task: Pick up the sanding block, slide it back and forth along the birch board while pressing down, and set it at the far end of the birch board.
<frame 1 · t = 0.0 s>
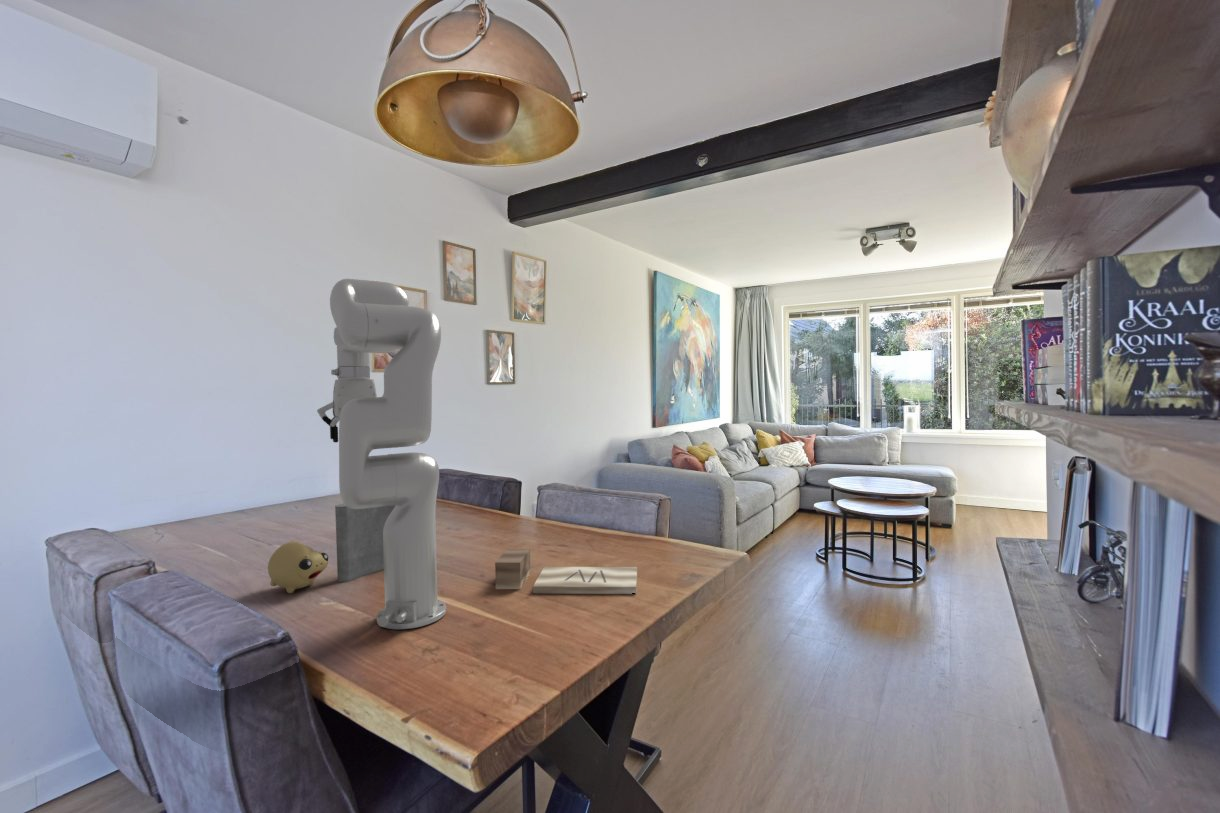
hand: (356, 440, 141), 31 cm above the table, tool pointing down, fingers open, 9 cm apart
sanding block: (513, 581, 125), on the table
yellow round soft figure: (299, 590, 122), on the table
hip flask: (369, 572, 133), on the table
birch board: (587, 582, 123), on the table
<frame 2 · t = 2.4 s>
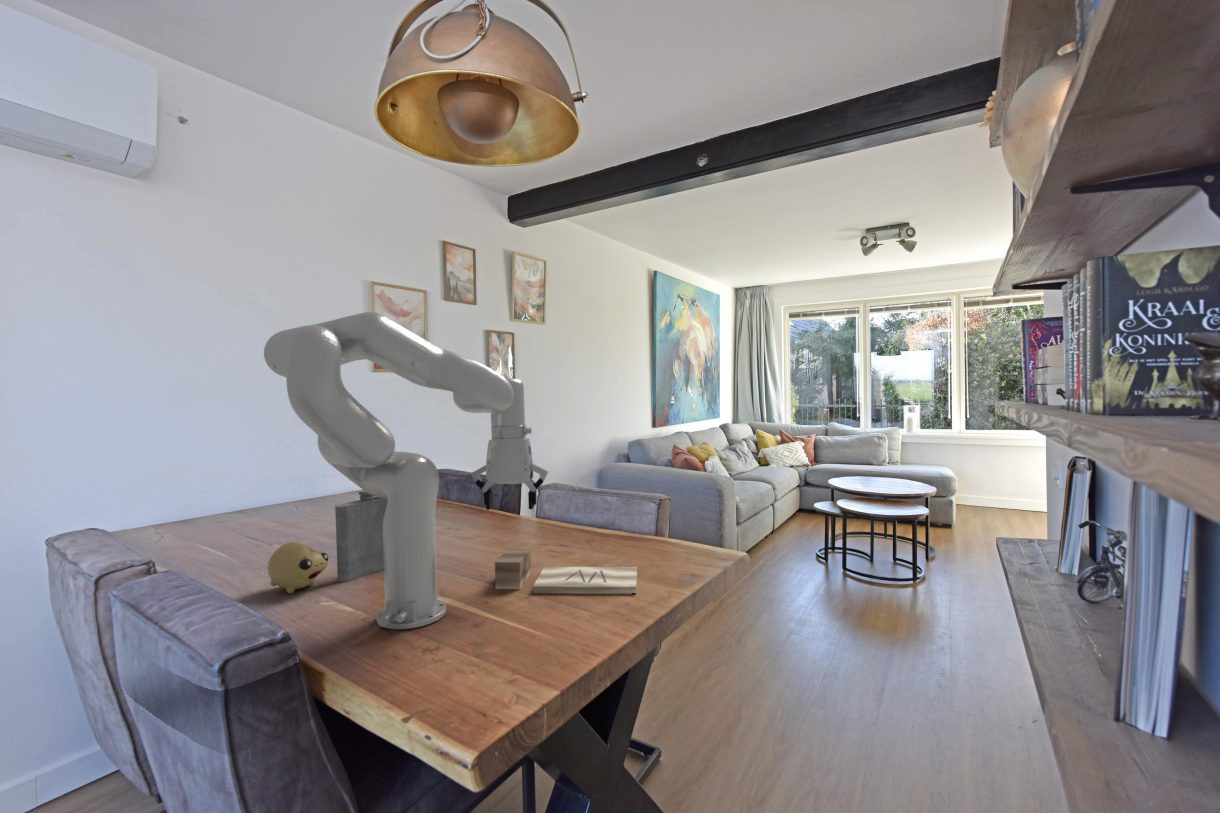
hand: (510, 508, 125), 17 cm above the table, tool pointing down, fingers open, 9 cm apart
nothing on the table moved.
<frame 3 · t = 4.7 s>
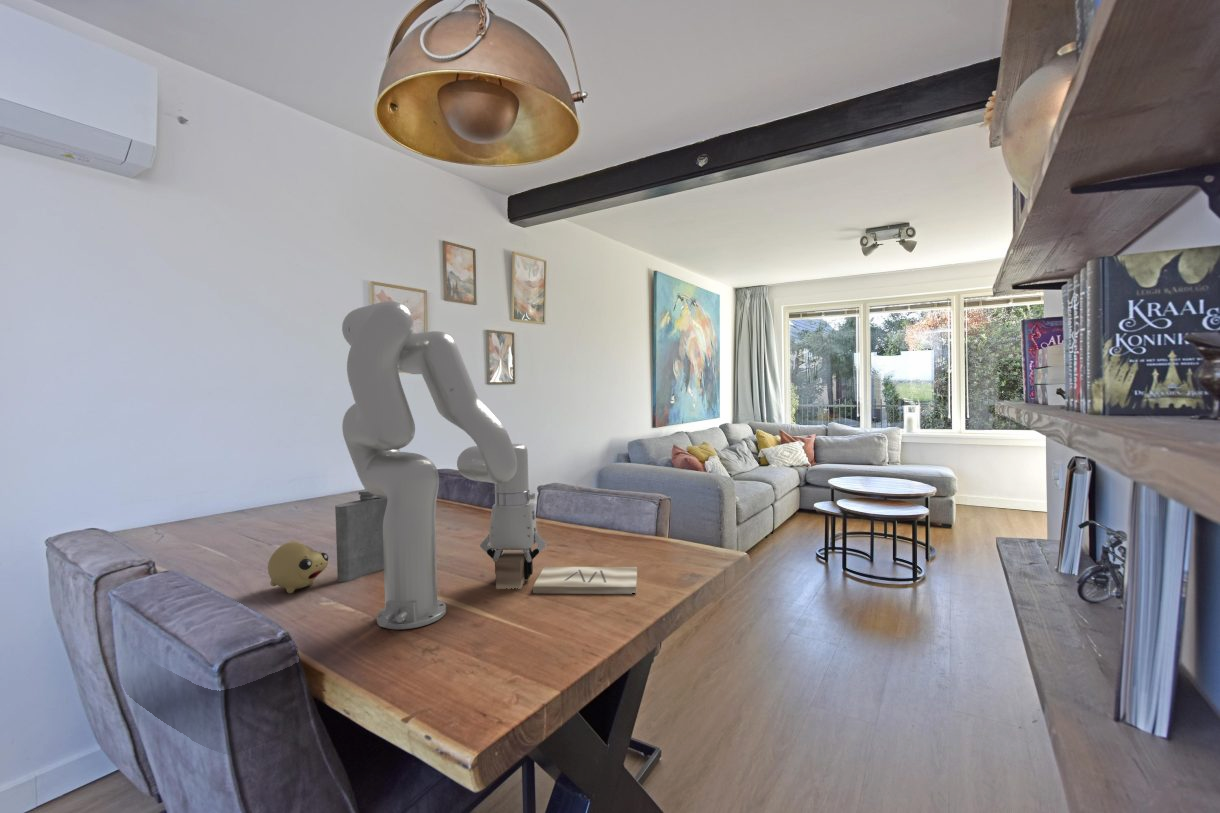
hand: (514, 576, 125), 1 cm above the table, tool pointing down, fingers closed on sanding block, 5 cm apart
sanding block: (514, 580, 125), on the table, touching gripper
everything else where it was.
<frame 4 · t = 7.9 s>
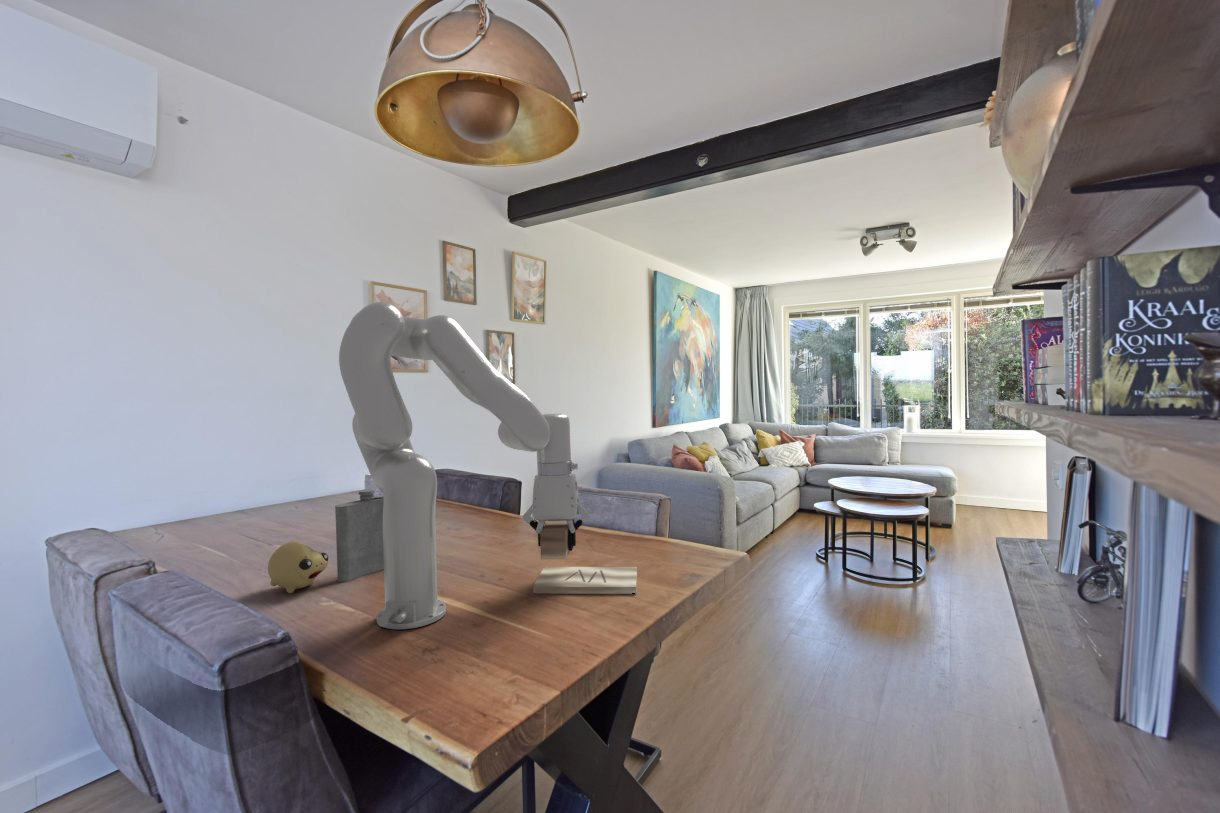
hand: (557, 548, 123), 8 cm above the table, tool pointing down, fingers closed on sanding block, 5 cm apart
sanding block: (557, 552, 123), point 7 cm above the table, touching gripper
everything else where it was.
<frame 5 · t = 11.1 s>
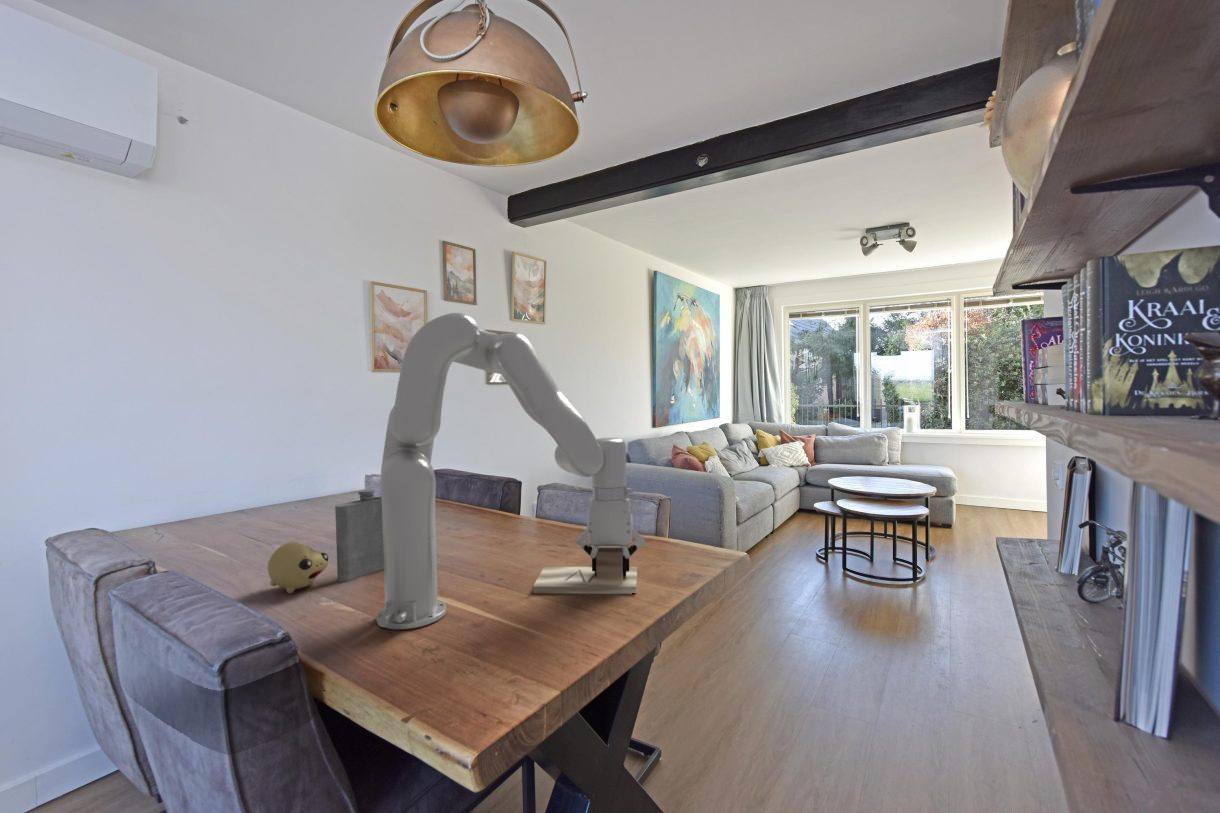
hand: (610, 573, 122), 2 cm above the table, tool pointing down, fingers closed on sanding block, 5 cm apart
sanding block: (610, 576, 122), point 2 cm above the table, touching gripper
everything else where it was.
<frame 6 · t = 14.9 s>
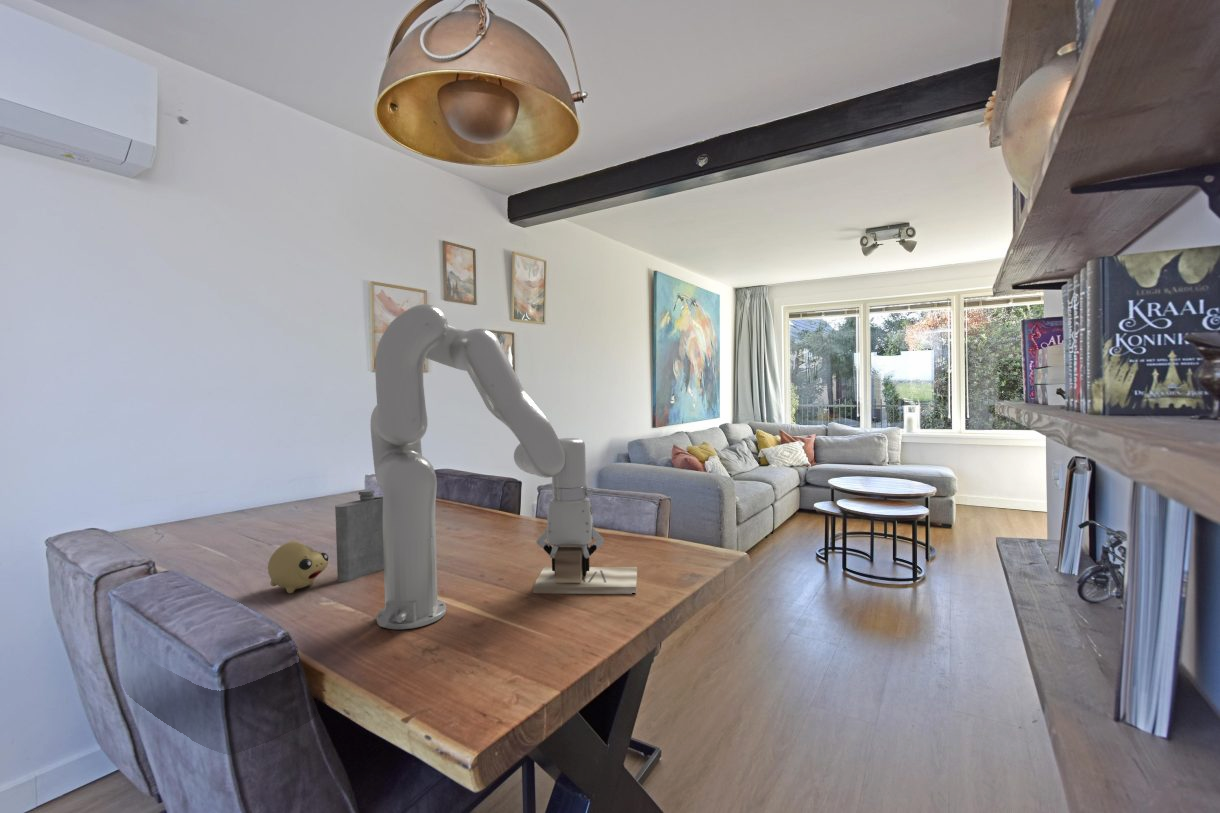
hand: (570, 573, 123), 2 cm above the table, tool pointing down, fingers closed on sanding block, 5 cm apart
sanding block: (571, 574, 123), point 2 cm above the table, touching gripper
everything else where it was.
when the fingers open (3 cm above the table, at t = 18.0 s): sanding block drops 1 cm, resting on birch board.
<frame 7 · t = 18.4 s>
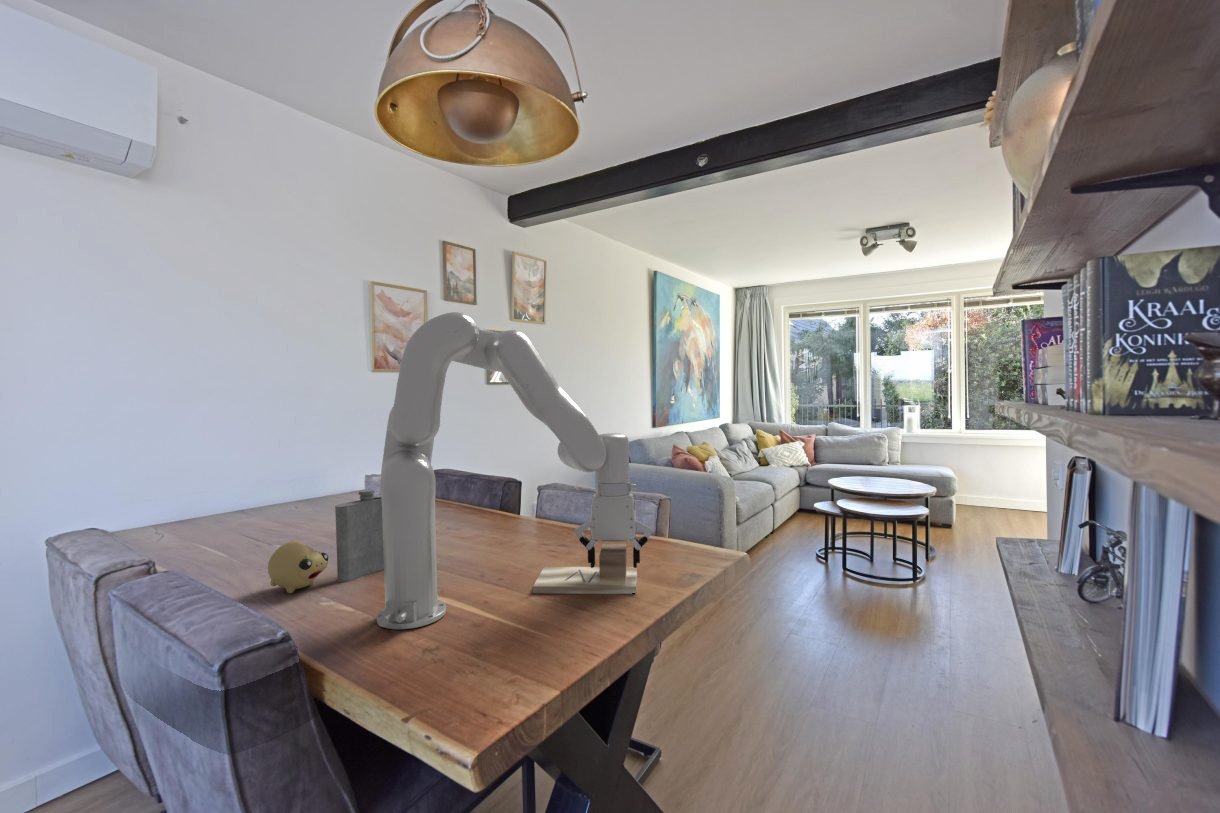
hand: (614, 565, 122), 4 cm above the table, tool pointing down, fingers open, 9 cm apart
sanding block: (613, 576, 122), point 2 cm above the table, touching birch board
everything else where it was.
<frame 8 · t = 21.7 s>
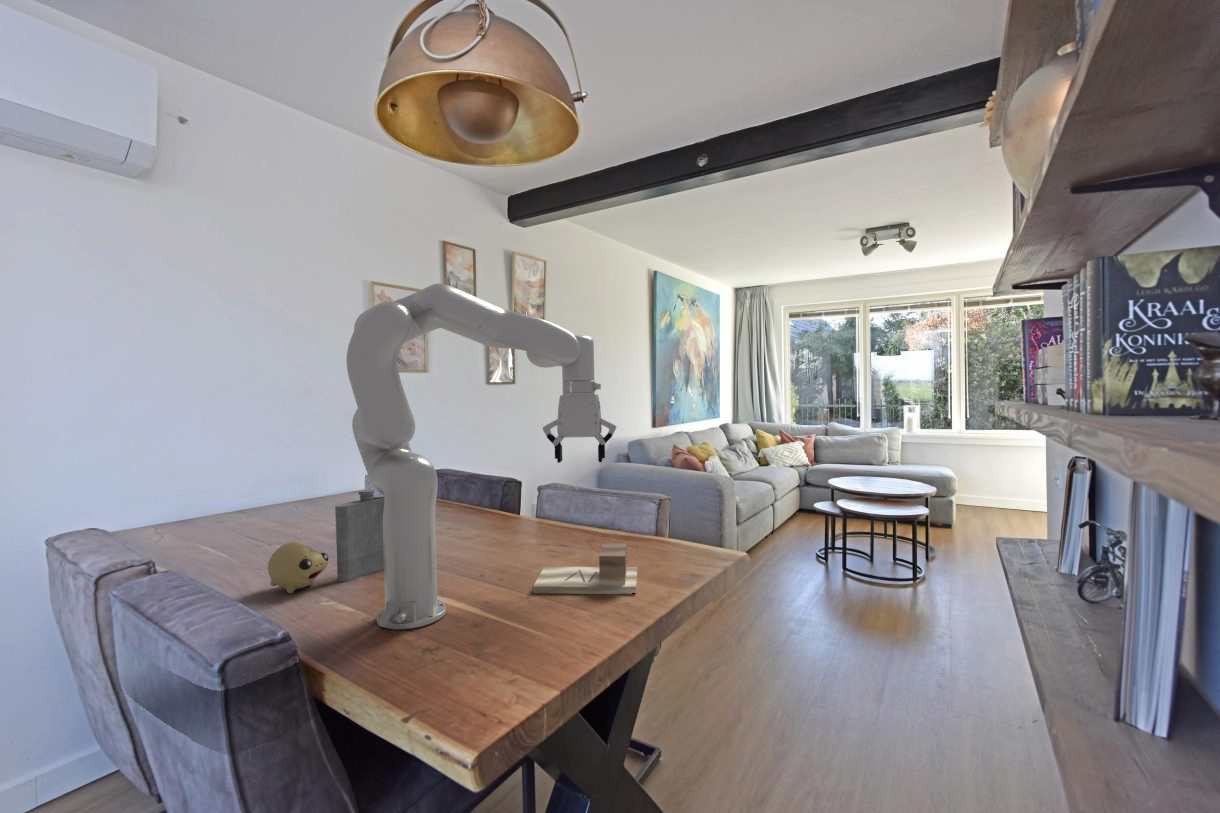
hand: (580, 461, 129), 26 cm above the table, tool pointing down, fingers open, 9 cm apart
nothing on the table moved.
at the end: sanding block inside the target area on the birch board (0.4 cm from its centre), point 1.5 cm above the birch board's base; sanding block tilted 0°; the gripper is holding nothing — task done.
